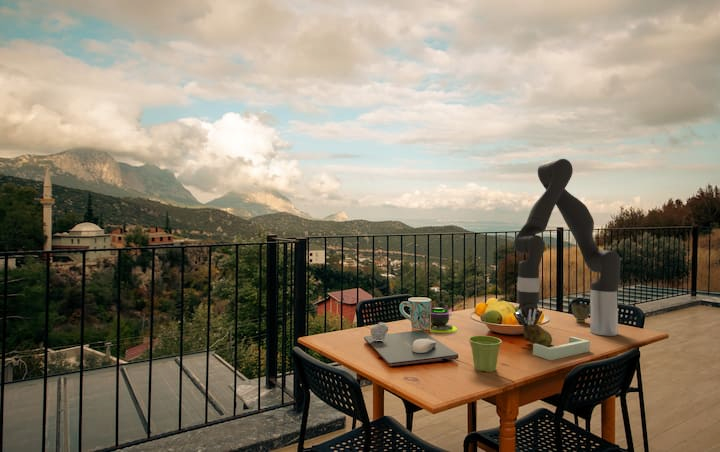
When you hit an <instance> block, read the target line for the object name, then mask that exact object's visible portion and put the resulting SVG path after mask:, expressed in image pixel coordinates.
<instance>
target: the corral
mask: <svg viewBox="0 0 720 452" xmlns="http://www.w3.org/2000/svg"><path fill="white" fill-rule="evenodd" d="M590 347H591V343H590V340H587V339H583V338H579V337H575V336H569V339H568V343H564V344H560V345H555V346H550V347H549V346H543V345H539V344H532V355H533V356H535V357H539V358H542V359H545V360H548V361H554V360H557V359H562V358H563V359H564V358H567V357H570V356H575V355H576V356H577V355H580V354H583V353H584V354H585V353H588V352H589V353H590Z"/></svg>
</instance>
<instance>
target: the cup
mask: <svg viewBox="0 0 720 452" xmlns="http://www.w3.org/2000/svg"><path fill="white" fill-rule="evenodd" d="M571 311H572V315H573V317H574V318H575V319H576V320H575V321H576V322H577V323H579V322H580V324H585V323H586V320H587V319H588V318H589V316H590V304H586V303H581V302H580V303H578V304H577V303H573V302H572V303H571Z"/></svg>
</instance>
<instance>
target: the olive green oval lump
mask: <svg viewBox="0 0 720 452" xmlns="http://www.w3.org/2000/svg"><path fill="white" fill-rule="evenodd" d="M524 336H525V337H524ZM523 337H524V338H525V341H526V342H528V343H531V344H532V345H533V344H539V345H543V346H546V347H549V346H550V345H551V344H552V342H553V339H552V338H553V337H552V335H551V333H550V332H549V331H547V330H546V329H544V328H543V327H542V326H540V325H538V324H536V325H535V324H530V325H527V326H525V328H524V327H523Z"/></svg>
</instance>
